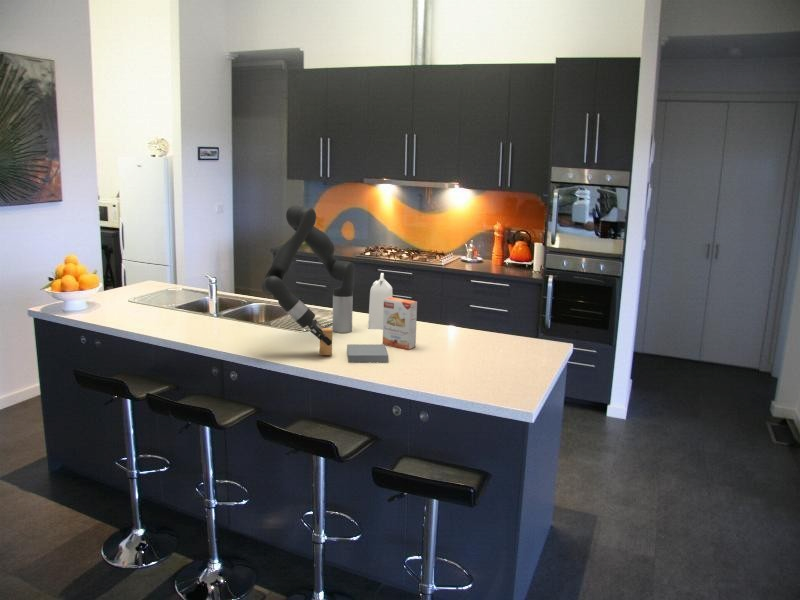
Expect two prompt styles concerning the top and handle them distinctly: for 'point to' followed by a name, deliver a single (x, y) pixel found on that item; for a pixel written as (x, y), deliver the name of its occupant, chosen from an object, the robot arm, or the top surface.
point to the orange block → (323, 346)
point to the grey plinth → (367, 353)
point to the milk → (378, 302)
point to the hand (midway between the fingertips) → (330, 342)
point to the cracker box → (399, 323)
